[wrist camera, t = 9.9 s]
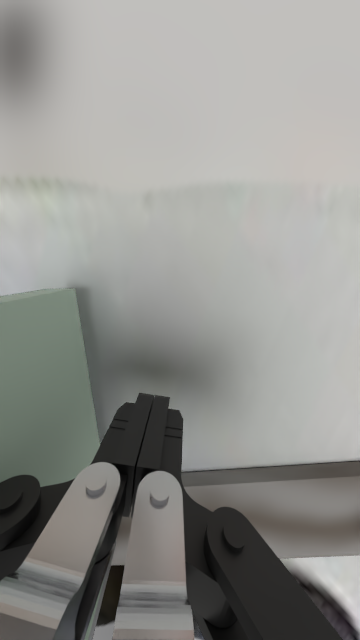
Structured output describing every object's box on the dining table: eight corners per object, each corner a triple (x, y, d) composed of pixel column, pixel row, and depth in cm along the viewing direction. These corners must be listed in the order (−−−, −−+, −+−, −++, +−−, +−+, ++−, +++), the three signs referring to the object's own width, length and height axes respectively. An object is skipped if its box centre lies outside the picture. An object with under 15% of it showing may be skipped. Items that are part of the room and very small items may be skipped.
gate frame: (416, 535, 16) (693, 857, 7) (66, 550, 18) (-50, 830, 9) (437, 456, 14) (856, 772, 5) (40, 482, 16) (-146, 756, 7)
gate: (117, 548, 15) (63, 772, 8) (96, 548, 15) (26, 770, 8) (76, 288, 10) (-139, 330, 3) (44, 289, 10) (-227, 331, 3)
